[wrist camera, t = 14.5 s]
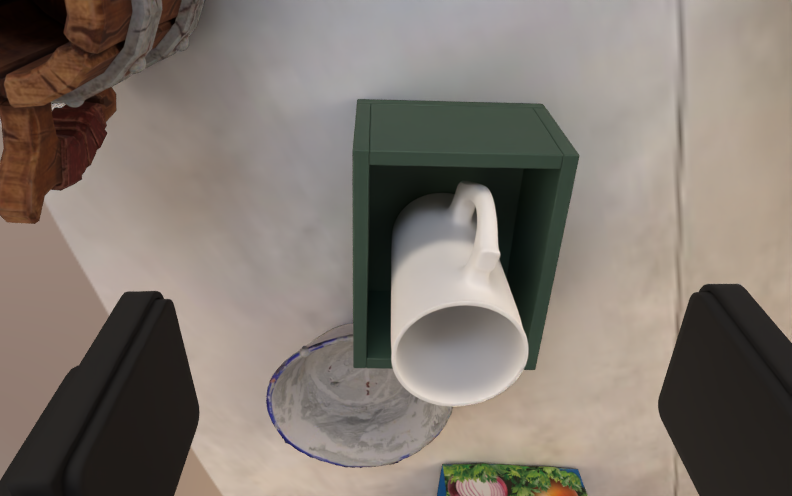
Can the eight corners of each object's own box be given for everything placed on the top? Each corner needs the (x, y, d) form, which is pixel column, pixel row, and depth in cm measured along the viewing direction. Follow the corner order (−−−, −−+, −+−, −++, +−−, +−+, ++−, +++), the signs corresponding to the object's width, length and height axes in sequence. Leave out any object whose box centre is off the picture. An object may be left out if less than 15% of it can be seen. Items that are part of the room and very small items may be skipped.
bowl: (244, 375, 47) (231, 423, 43) (341, 265, 42) (337, 307, 38) (376, 444, 52) (376, 493, 48) (479, 351, 47) (489, 397, 43)
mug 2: (471, 285, 42) (501, 416, 32) (377, 266, 41) (377, 395, 31) (522, 153, 37) (577, 259, 27) (416, 128, 36) (431, 228, 26)
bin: (543, 103, 36) (580, 155, 30) (511, 294, 44) (535, 370, 37) (357, 98, 36) (352, 150, 29) (357, 292, 43) (353, 368, 37)
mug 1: (210, -194, 28) (92, -128, 17) (233, 88, 38) (166, 250, 27) (-54, -227, 27) (-361, -179, 16) (37, 70, 37) (-117, 230, 26)
